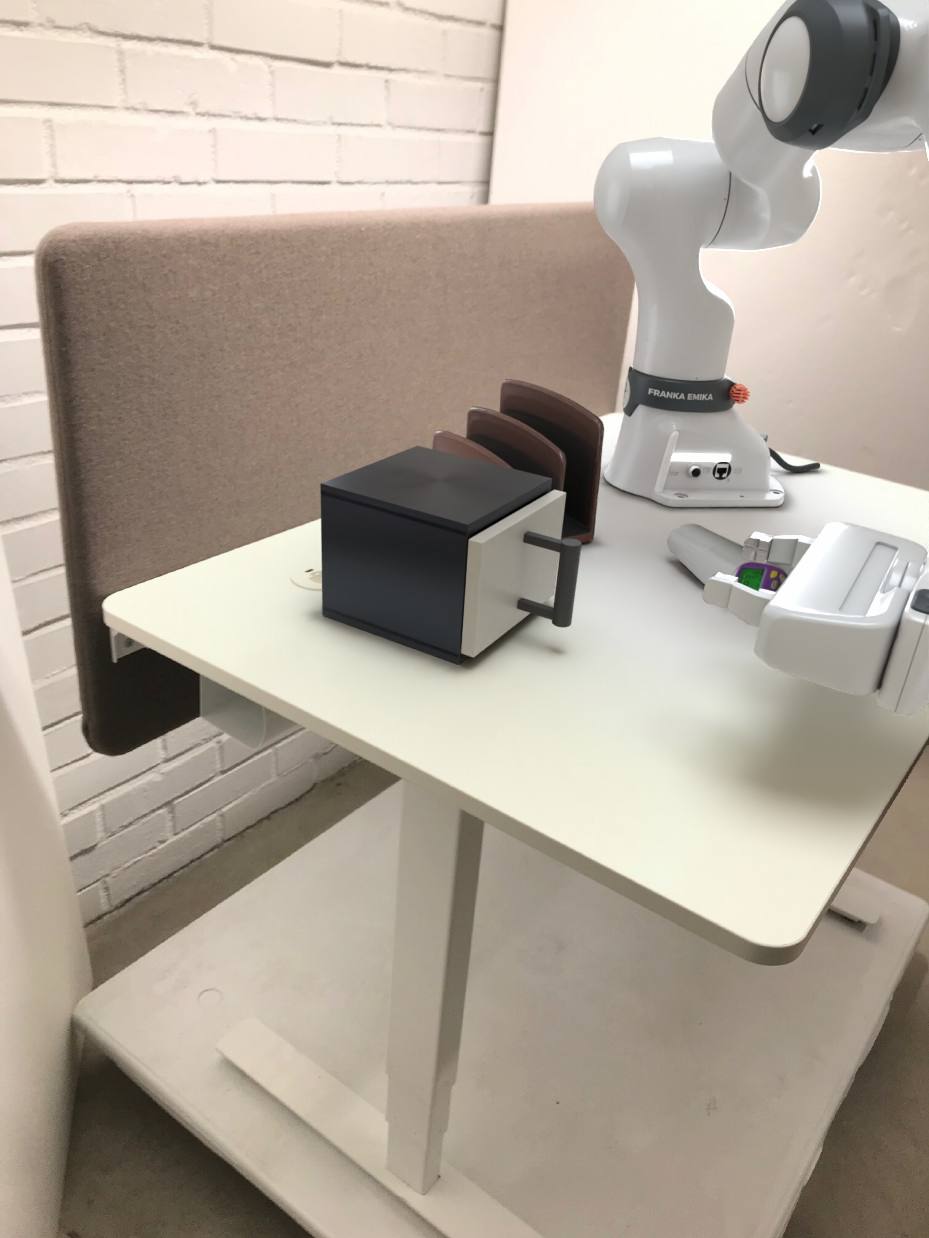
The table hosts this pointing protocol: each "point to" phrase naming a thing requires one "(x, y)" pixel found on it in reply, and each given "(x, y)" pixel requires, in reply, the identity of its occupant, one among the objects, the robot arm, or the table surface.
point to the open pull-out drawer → (519, 573)
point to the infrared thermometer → (723, 558)
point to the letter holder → (539, 446)
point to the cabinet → (412, 542)
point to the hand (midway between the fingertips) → (727, 563)
